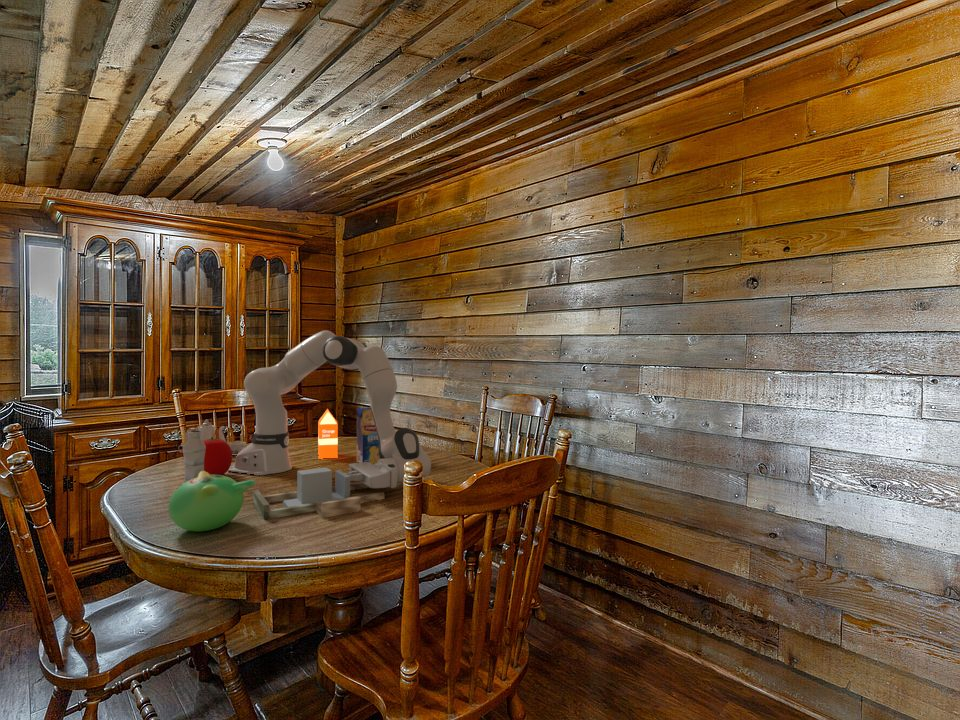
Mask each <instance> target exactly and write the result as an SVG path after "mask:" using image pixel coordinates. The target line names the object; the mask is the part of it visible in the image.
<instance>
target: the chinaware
mask: <svg viewBox="0 0 960 720" xmlns="http://www.w3.org/2000/svg"><path fill="white" fill-rule="evenodd" d="M215 427H216V425H214V424H212V423H211V422H209V420H208V419H205V420H204V422H203V423H202V424H201V425H198V426H197V427H192V428H189V429H188V430H186V431H185V433H184V438H185V442H181V444H180V445H178V447H177V449H178V450H177V451H178V452H180V453H182V451H181V450H180V447H183V446H184V444H185V443H186V442H187V440H188V438H187V436H188V431H194V430H200V431H201V437H200V439H201V440H202V441H203V440H204V441H205V440H208V439H211V437H213V439H216V438H215ZM225 427H226V426H225V425H222V426H220V427H219V429H218V439H221V440H224V441H225V442H227V444H228V445H229V446H230V448H231V450H232V454H238V453H239V452H240V451H242V450H243V449H244V448H245V447H246V444H247V441H241V440H235V441H233V442H232V441H227V440H226V438H225V434H224V433H223V432H224V431H223V429H224V428H225Z"/></svg>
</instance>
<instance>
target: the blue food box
mask: <svg viewBox="0 0 960 720" xmlns="http://www.w3.org/2000/svg"><path fill="white" fill-rule="evenodd" d="M378 447H379V439H378V435H377V431H376V427H375V423H374V420H373V416H372V411H371V406H366V407H363V406H362V407H356V463H358V462H359V463H361V462H370V463H374V464H375V463H377V461H378V460H379V459H381V458H380V457H379V453H378Z"/></svg>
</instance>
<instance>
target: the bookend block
mask: <svg viewBox="0 0 960 720" xmlns="http://www.w3.org/2000/svg"><path fill="white" fill-rule="evenodd" d="M345 473H346V472H344V471H342V470H341V469H337V470H336V469H335V470H334V474H335V475H334V486H335V492H336V493H332V486H333V471H332V470H331V469H330V468H328V467H327V466H326V467H318V468H311V469H301V470H297V471H296V477H297V478H296V488H297V489H296V491H297V499H290V500H284V501H282V505H283V506H284V508H285V507H291V506H297V505H304V504H310V503H316V502H320V503H322V502H328V501H334V500H340V499H346V498H347V497H351V490H350V483H351V481H350V476H348V475H347V474H345Z"/></svg>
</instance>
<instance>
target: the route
mask: <svg viewBox="0 0 960 720" xmlns="http://www.w3.org/2000/svg"><path fill="white" fill-rule="evenodd" d="M362 488H363V489H368V486H367V485H365V484H364V483H362V482H361V481H354V482H350V491H356V490H355V489H357V490H362ZM332 493H336V492H335V485H332ZM296 498H297V490H295V491H287V492H286V491H285V492H281V493H272V494H267V495H262V493H261V492H260V491H259V489H256V490H252V505H253V507H255V509H256V510H257V512H258V513H259V515H260V516H261V518H262V519H263V521H264V520H269V519H270V520H271V519H275V518H281V517H288V516H294V515H299V514H304V513H313V512H316V513H317V514H318V515H319V516H320V517H321V518H323V519H327V518H329V517H330V518H331V517H338V516H342V514H343V515H348V513H349V514H353V513H352V512H354V513H359V511H360V512H361V504H365V503H364V502H366V503H370V502H369V501H372V502H376V501H375V500H378V501H382V500H381V499H384V500H385V492H384V491H381V492H380V491H379V492H373V493H367V494H366V493H365V494H361V495H354V496H350V497H347V498H346V499H340V500H334V501H328V502H322V503H320V502H316V503H310V504H304V505H297V506H291V507H285V506H284V507H280V508H273V509H270V508H271V507H270V504H271V502H272V503H277V502H283V500H290V499H296Z"/></svg>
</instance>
